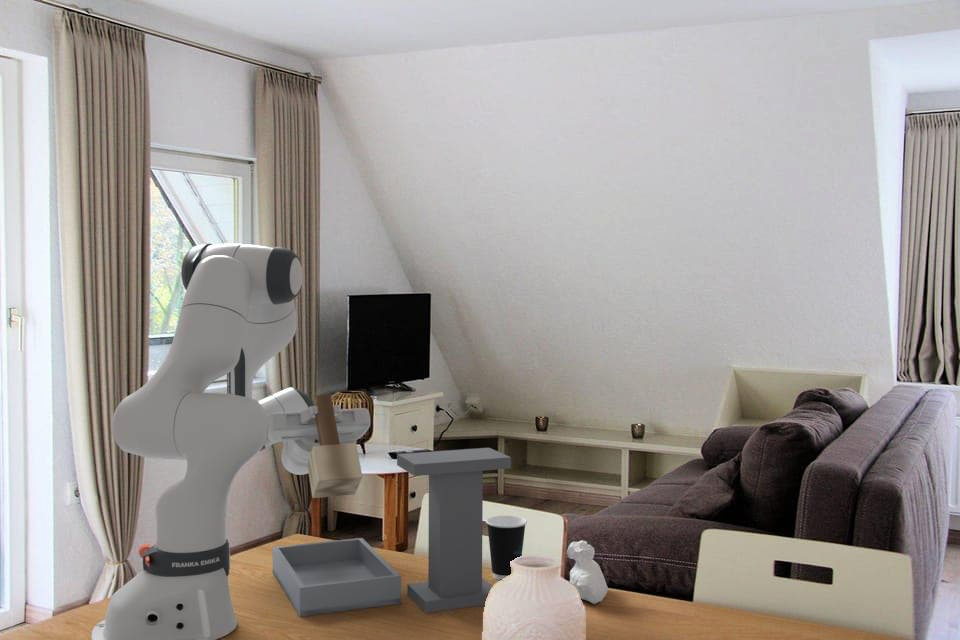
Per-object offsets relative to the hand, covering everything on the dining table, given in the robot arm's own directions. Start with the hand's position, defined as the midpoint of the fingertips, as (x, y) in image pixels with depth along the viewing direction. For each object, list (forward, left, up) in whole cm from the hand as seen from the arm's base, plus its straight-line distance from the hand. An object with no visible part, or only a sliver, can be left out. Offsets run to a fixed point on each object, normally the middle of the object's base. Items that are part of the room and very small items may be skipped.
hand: (325, 409), depth 181 cm
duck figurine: (+42, -28, -33) cm, 60 cm away
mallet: (0, 0, -8) cm, 8 cm away
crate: (0, -6, -33) cm, 33 cm away
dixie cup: (+33, -12, -33) cm, 48 cm away
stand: (+19, -20, -33) cm, 43 cm away
